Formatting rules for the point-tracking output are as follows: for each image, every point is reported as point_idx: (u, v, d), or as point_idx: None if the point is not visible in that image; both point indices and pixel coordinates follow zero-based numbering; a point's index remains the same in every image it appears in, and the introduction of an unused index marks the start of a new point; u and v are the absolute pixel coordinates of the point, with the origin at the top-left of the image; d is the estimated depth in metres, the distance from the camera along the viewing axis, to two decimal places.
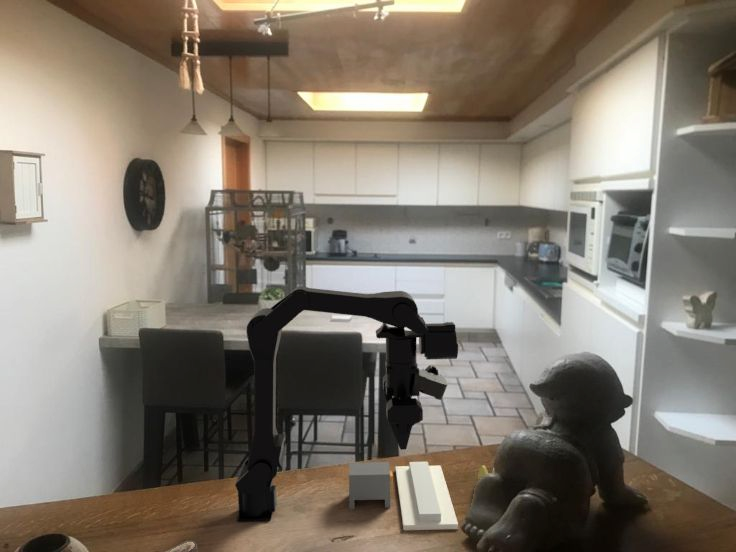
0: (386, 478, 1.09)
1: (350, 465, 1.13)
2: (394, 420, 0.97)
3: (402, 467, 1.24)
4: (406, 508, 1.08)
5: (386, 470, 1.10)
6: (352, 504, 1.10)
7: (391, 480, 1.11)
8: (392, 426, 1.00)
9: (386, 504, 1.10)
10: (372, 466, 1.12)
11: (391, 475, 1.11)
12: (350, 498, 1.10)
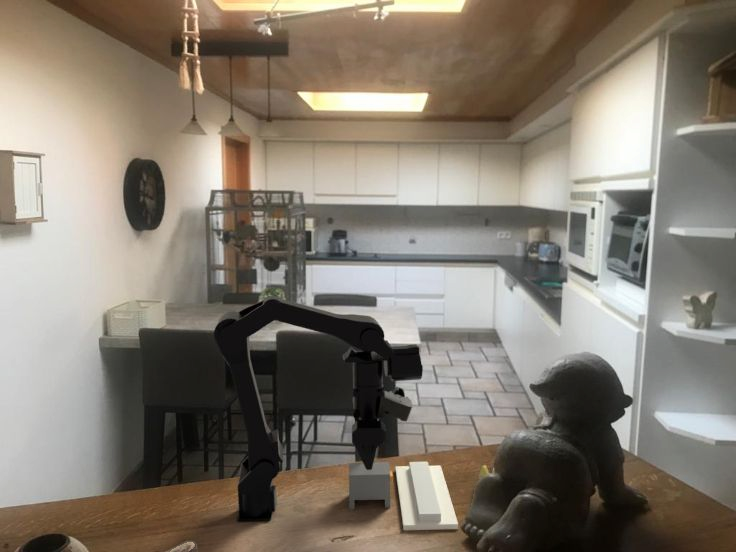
0: (386, 478, 1.09)
1: (350, 465, 1.13)
2: (358, 442, 1.01)
3: (402, 467, 1.24)
4: (406, 508, 1.08)
5: (386, 470, 1.10)
6: (352, 504, 1.10)
7: (391, 480, 1.11)
8: (357, 447, 1.04)
9: (386, 504, 1.10)
10: None
11: (391, 475, 1.11)
12: (350, 498, 1.10)
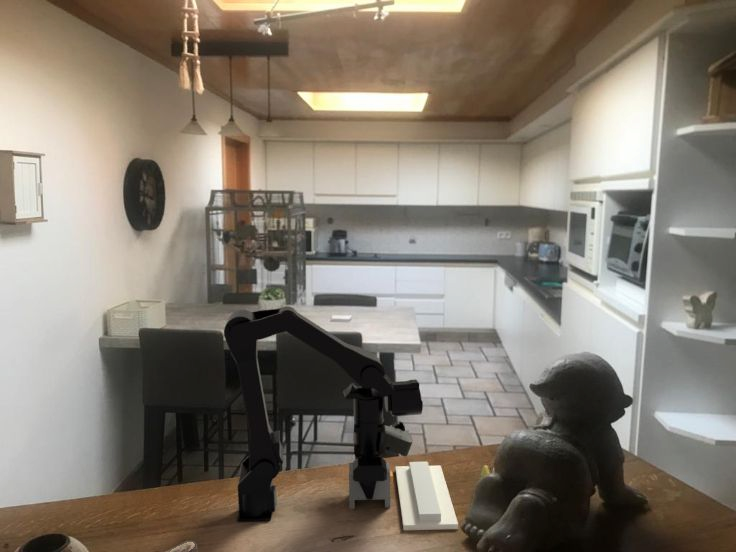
0: None
1: (350, 465, 1.13)
2: (359, 480, 1.02)
3: (402, 467, 1.24)
4: (406, 508, 1.08)
5: None
6: (352, 504, 1.10)
7: (391, 480, 1.11)
8: None
9: (386, 504, 1.10)
10: None
11: (391, 475, 1.11)
12: (350, 498, 1.10)
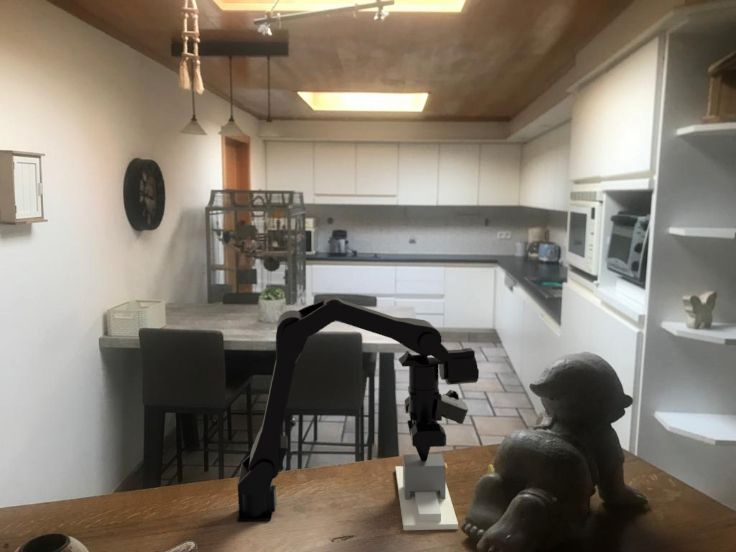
0: (441, 470, 1.10)
1: (404, 457, 1.14)
2: (419, 445, 1.02)
3: (402, 467, 1.24)
4: (406, 508, 1.08)
5: (441, 462, 1.12)
6: (408, 495, 1.11)
7: (446, 471, 1.12)
8: None
9: (441, 495, 1.11)
10: None
11: (446, 466, 1.12)
12: (406, 489, 1.11)
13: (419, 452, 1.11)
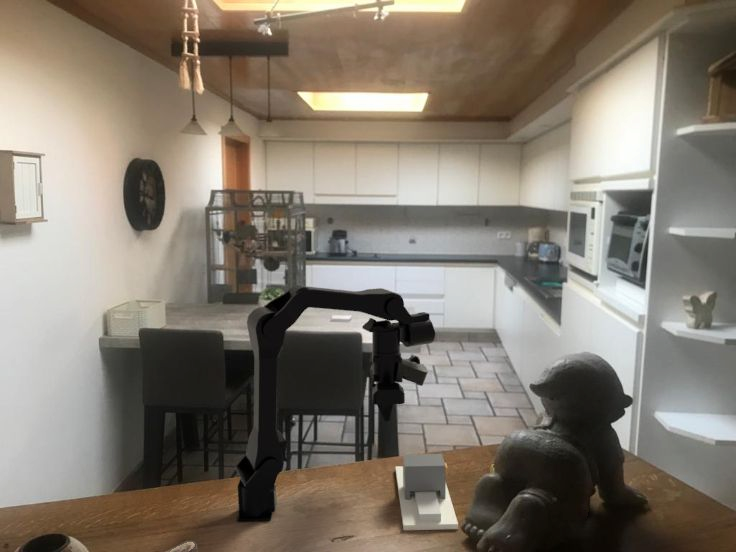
0: (441, 470, 1.10)
1: (404, 457, 1.14)
2: (379, 403, 1.09)
3: (402, 467, 1.24)
4: (406, 508, 1.08)
5: (441, 462, 1.12)
6: (408, 495, 1.11)
7: (446, 471, 1.12)
8: None
9: (441, 495, 1.11)
10: (426, 458, 1.13)
11: (446, 466, 1.12)
12: (406, 489, 1.11)
13: (382, 413, 1.18)
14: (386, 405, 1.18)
